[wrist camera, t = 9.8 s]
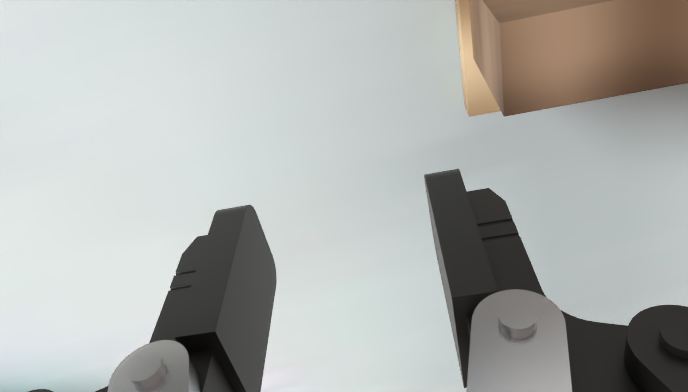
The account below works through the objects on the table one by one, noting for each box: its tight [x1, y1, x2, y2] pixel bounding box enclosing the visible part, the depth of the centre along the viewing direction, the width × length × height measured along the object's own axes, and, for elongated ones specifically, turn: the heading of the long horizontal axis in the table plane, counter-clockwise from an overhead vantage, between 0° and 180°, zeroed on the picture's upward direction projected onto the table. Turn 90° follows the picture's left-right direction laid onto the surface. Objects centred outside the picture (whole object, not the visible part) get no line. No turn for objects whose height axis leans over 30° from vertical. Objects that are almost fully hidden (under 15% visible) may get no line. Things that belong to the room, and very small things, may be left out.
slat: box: [469, 0, 688, 116], centre depth 18 cm, size 10×3×5 cm, turn 102°
